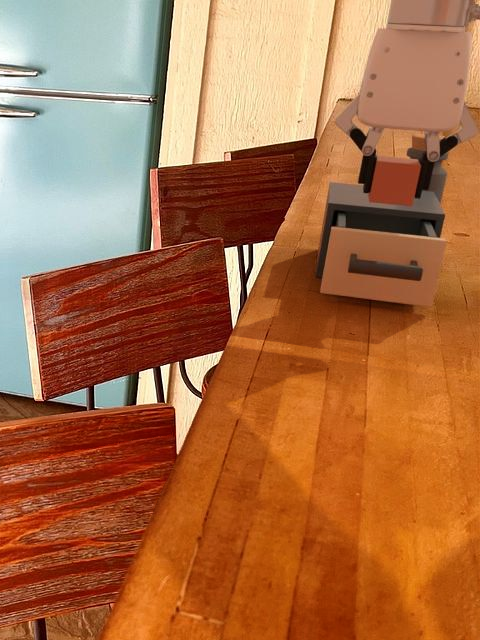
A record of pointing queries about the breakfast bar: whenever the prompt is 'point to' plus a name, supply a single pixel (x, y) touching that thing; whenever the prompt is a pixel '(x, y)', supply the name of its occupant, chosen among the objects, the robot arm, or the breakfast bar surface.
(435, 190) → the bottle
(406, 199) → the block
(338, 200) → the cabinet
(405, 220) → the drawer
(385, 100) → the robot arm
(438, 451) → the breakfast bar surface
